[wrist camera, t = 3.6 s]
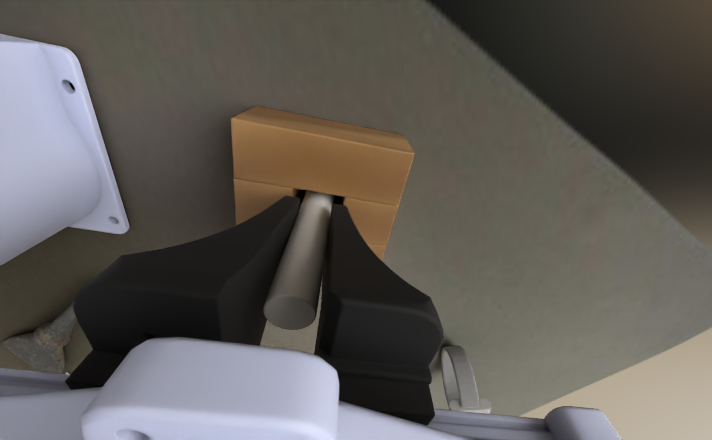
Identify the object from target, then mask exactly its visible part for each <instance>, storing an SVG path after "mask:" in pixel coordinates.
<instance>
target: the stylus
mask: <svg viewBox="0 0 712 440" xmlns="http://www.w3.org/2000/svg"><path fill="white" fill-rule="evenodd" d="M334 197H335V195H332V194H326V193H320V192H314V191H308V190H307V191H306V193H305V196H304V199H303V201H302V204H301V207H300V209H299V213H298V215H297V218H296V221H295V224H294V226H293V229H292V231H291V234H290V236H289V239H288V242H287V244H286V247H285V250H284V253H283V255H282V258H281V261H280V263H279V266H278V269H277V271H276V274H275V277H274V280H273V282H272V285H271V288H270V290H269V293H268V296H267V298H266V301H265V304H264V307H263V312H264V315H265V317H266V319H267V320H268V321H269V322H270V323H272V324H273V325H275V326H277V327H280V328H283V329H288V330H298V329H302V328H305V327H307V326H309V325H310V324H312V323H313V321H314V320H315V318H316V313H317V307H318V300H319V294H320V287H321V281H322V274H323V268H324V261H325V255H326V248H327V241H328V228H329V221H330V215H331V209H332V203H334Z"/></svg>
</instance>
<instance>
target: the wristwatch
mask: <svg viewBox="0 0 712 440" xmlns="http://www.w3.org/2000/svg"><path fill="white" fill-rule="evenodd" d="M441 367H442V377H443V384H444V389H445V394H446V398H447V402H448V406H449V410H453V411H464V412H475V413H485V414H489V413H490V410H491V403H490V401H489V400H488V399H485V398H484V399H479V396H478V391H477V386H476V381H475V377H474V374H473V370H472V367H471V364H470V361H469V358H468V356H467V354H466V352H465V351H464V349H463V348H462V347H460V346H449V347H444V348H443V349H442V353H441Z"/></svg>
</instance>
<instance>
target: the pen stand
mask: <svg viewBox="0 0 712 440" xmlns="http://www.w3.org/2000/svg"><path fill="white" fill-rule="evenodd" d="M231 134H232V152H233V171H234V195H235V213H236V225H238V224H240V223H242V222H244V221H246V220H248V219H250V218H251V217H253V216H255V215H257V214H259V213H260V212H262V211H263V210H265V209H267V208H268V207H270V206H271V205H273V204H274V203H275V202H277V201H278V200H280V199H281V198H283V197H284V196H292V197H298V198H300V199H301V189H302V190H308V191H314V192H320V193H326V194H332V195H337V196H342V200H341V205H345V206H347V208H348V210H349V213H350V215H351V217H352V220H353V222H354V224H355V225H356V227H357V229H358V231H359V233H360V234H361V236H362V237H363V239H364V240H365V242H366V243H367V245H368V246H369V247H370V249H371V250H372V251H373V252H374V253H375V255H376V256H377V257H378V258H379V259H380V260H381V261H382V258H383V254H384V251H385V248H386V245H387V242H388V239H389V235H390V232H391V229H392V226H393V223H394V220H395V216H396V213H397V210H398V205H399V203H400V200H401V197H402V194H403V190H404V187H405V184H406V181H407V178H408V174H409V171H410V168H411V165H412V162H413V158H414V155H415V153H414V152H413V150H412V148H411V147H410V145H409V143H408V142H407V140H406V138H405V137H404V135H401V134H396V133H391V132H386V131H380V130H375V129H370V128H365V127H360V126H355V125H350V124H345V123H340V122H335V121H330V120H325V119H320V118H315V117H310V116H305V115H300V114H295V113H290V112H285V111H280V110H275V109H270V108H265V107H260V106H255V107H253V108H251V109H249V110H247V111H245V112H243V113H241V114H238V115H236V116H234V117H232V118H231ZM301 204H302V203H300V202H299V209H300V207H301ZM322 275H323V274H322Z"/></svg>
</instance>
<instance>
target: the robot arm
mask: <svg viewBox="0 0 712 440" xmlns="http://www.w3.org/2000/svg"><path fill="white" fill-rule="evenodd" d="M70 82H71V83H72V84H73V86H74V88H75V91H74V90H73V89H72V88H71V86H70ZM299 202H300V198H298V197H292V196H284V197H283V198H281V199H280V200H278V201H277V202H275V203H274V204H273V205H271V206H270V207H268V208H267V209H265V210H263V211H262V212H260V213H259V214H257V215H255V216H253V217H251V218H250V219H248V220H246V221H244V222H242V223H240V224H238V225H236V226H234V227H232V228H229V229H227V230H225V231H222V232H219V233H216V234H214V235H211V236H208V237H205V238H202V239H199V240H195V241H192V242H188V243H184V244H180V245H176V246H172V247H168V248H163V249H158V250H152V251H146V252H141V253H135V254H129V255H122V256H120V257H119V258H118V259H117V260H115V261H114V262H113V263H112V264H111V265H109V266H108V267H107V268H106V269H105V270H104V271H102V272H101V273H100V274H99V275H98V276H96V277H95V278H94V279H93V280H92V281H91V282H89V283H88V284H87V285H86V286H85V287H83V288H82V289H81V290H80V291H79V292H78V294H77V295H76V296H75V297H74V303H73V309H74V313H75V315H76V318H77V321H78V322H79V324H80V326H81V328H82V330H83V331H84V333H85V335H86V337H87V339H88V340H89V342H90V344H91V346H92V348H93V350H92V351H91V353H90V354H89V355H88V356H87V357H86V358H85V359H84V360H83V361H82V363H81V364H80V365H79V366H78V367H77V368H76V369H75V370H74V371H73V373H72V374H71V375H70V374H59V373H49V372H38V371H27V370H17V369H6V368H0V440H622V439H621V437H620V436H619V435H618V433H617V432H616V430H615V429H614V427H613V426H612V424H611V423H610V422H609V420H608V419H607V417H606V416H605V414H604V413H603V412H602V411H601V410H599V409H591V408H582V407H572V406H562V407H558V408H555V409H553V410H552V411H550V412H549V413H548V414H547V416H546V417H545V418H544V419H538V418H527V417H517V416H507V415H496V414H485V413H475V412H464V411H453V410H443V409H434V407H433V402H432V398H431V393H430V389H429V384H430V383H431V380H432V378H431V373H430V369H429V365H430V364H431V362H432V360H433V359H434V357H435V355H436V354H437V352H438V350H439V349H440V347H441V344H442V342H443V339H444V338H443V329H442V326H441V322H440V319H439V317H438V314H437V311H436V309H435V307H434V305H433V303H432V300H431V298H430V297H429V296H427V295H425V294H424V293H422V292H421V291H419V290H418V289H416V288H414V287H413V286H411V285H410V284H408V283H407V282H406V281H404V280H403V279H402V278H401V277H399V276H398V275H397V274H395V273H394V272H393V271H392V270H391V269H390V268H389V267H387V266H386V265H385V264H384V263H383V262H382V261H381V260H380V259H379V258H378V257H377V256H376V255H375V253H374V252H373V251H372V250H371V249H370V247H369V246H368V245H367V243H366V242H365V240H364V239H363V237H362V236H361V234H360V233H359V231H358V229H357V227H356V225H355V224H354V222H353V220H352V217H351V215H350V213H349V210H348V208H347V206H345V205H339V204H333V203H332V209H331V215H330V221H329V228H328V241H327V248H326V255H325V261H324V268H323V279H322V301H321V311H320V318H319V325H318V331H317V338H316V345H315V352H314V355H313V354H310V353H306V352H302V351H299V350H293V349H284V348H275V347H266V346H260V342H261V339H262V335H263V332H264V328H265V325H266V321H267V319H266V317H265V315H264V312H263V307H264V304H265V301H266V298H267V296H268V293H269V290H270V288H271V285H272V282H273V280H274V277H275V274H276V271H277V269H278V266H279V263H280V261H281V258H282V255H283V253H284V250H285V247H286V244H287V242H288V239H289V236H290V234H291V231H292V229H293V226H294V224H295V221H296V218H297V215H298V213H299ZM66 227H74V228H81V229H88V230H95V231H102V232H109V233H115V234H123V233H125V232H127V231H128V230H129V228H130V226H129V223H128V219H127V216H126V213H125V209H124V206H123V203H122V200H121V196H120V193H119V190H118V187H117V183H116V180H115V177H114V174H113V170H112V167H111V164H110V161H109V157H108V154H107V151H106V148H105V144H104V141H103V138H102V134H101V131H100V128H99V125H98V121H97V118H96V115H95V112H94V108H93V105H92V102H91V99H90V95H89V92H88V89H87V86H86V82H85V79H84V76H83V72H82V69H81V66H80V63H79V61H78V59H77V57H76V56H75V55H74V53H73V52H71V51H70V50H69V49H67V48H65V47H62V46H57V45H52V44H47V43H42V42H37V41H32V40H28V39H23V38H18V37H13V36H8V35H3V34H0V266H1V265H3V264H4V263H6V262H8V261H9V260H11V259H13V258H15V257H16V256H18V255H20V254H21V253H23V252H25V251H26V250H28V249H30V248H32V247H33V246H35V245H37V244H38V243H40V242H42V241H43V240H45V239H47V238H49V237H50V236H52V235H54V234H55V233H57V232H59V231H61V230H62V229H64V228H66Z"/></svg>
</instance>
